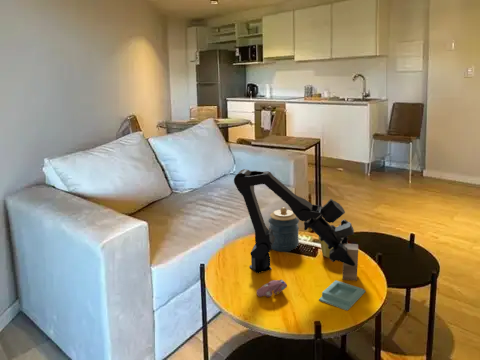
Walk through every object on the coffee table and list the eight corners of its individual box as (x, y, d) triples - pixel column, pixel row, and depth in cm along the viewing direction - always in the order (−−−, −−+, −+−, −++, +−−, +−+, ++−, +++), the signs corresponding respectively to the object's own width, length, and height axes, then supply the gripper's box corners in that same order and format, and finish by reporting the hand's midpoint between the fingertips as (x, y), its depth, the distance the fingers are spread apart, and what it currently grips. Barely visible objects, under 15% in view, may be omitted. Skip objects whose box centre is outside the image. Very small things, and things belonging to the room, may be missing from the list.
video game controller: (260, 303, 139) (265, 291, 135) (254, 292, 142) (259, 280, 138) (285, 295, 144) (290, 283, 139) (278, 285, 147) (283, 273, 142)
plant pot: (341, 249, 175) (342, 227, 172) (345, 260, 165) (346, 237, 162) (317, 249, 176) (317, 227, 173) (319, 260, 166) (319, 237, 163)
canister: (291, 254, 171) (291, 214, 166) (263, 248, 178) (262, 209, 173) (303, 243, 182) (303, 205, 177) (276, 237, 188) (276, 200, 184)
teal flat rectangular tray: (347, 310, 131) (347, 304, 131) (319, 300, 138) (319, 294, 137) (365, 291, 142) (365, 286, 141) (338, 283, 148) (338, 277, 147)
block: (356, 280, 149) (358, 250, 146) (342, 279, 150) (343, 249, 147) (356, 274, 154) (357, 244, 151) (342, 273, 155) (343, 243, 152)
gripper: (340, 225, 138) (373, 258, 139) (340, 207, 156) (370, 236, 156) (315, 245, 142) (347, 277, 142) (319, 225, 160) (347, 254, 160)
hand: (354, 260), depth 150 cm, fingers open, 7 cm apart
